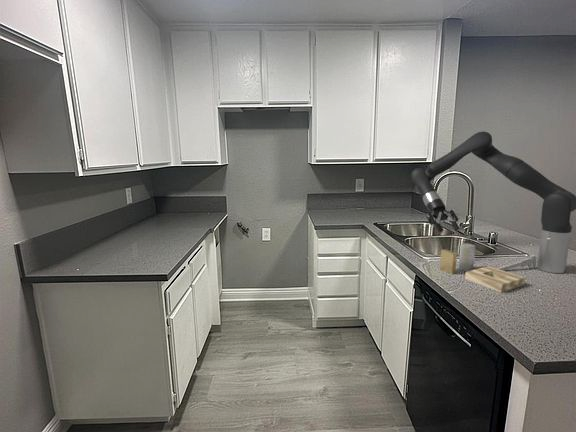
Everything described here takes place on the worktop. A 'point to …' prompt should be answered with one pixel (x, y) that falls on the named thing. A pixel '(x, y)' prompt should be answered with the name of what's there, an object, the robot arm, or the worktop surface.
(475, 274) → the socket block
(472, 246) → the square bit
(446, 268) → the light brown wooden block
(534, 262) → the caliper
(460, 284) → the worktop surface
